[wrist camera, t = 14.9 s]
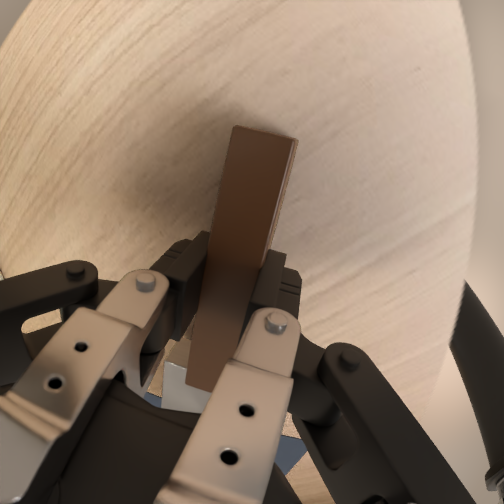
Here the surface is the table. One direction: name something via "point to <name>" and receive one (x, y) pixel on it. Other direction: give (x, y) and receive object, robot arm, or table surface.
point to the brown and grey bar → (230, 263)
